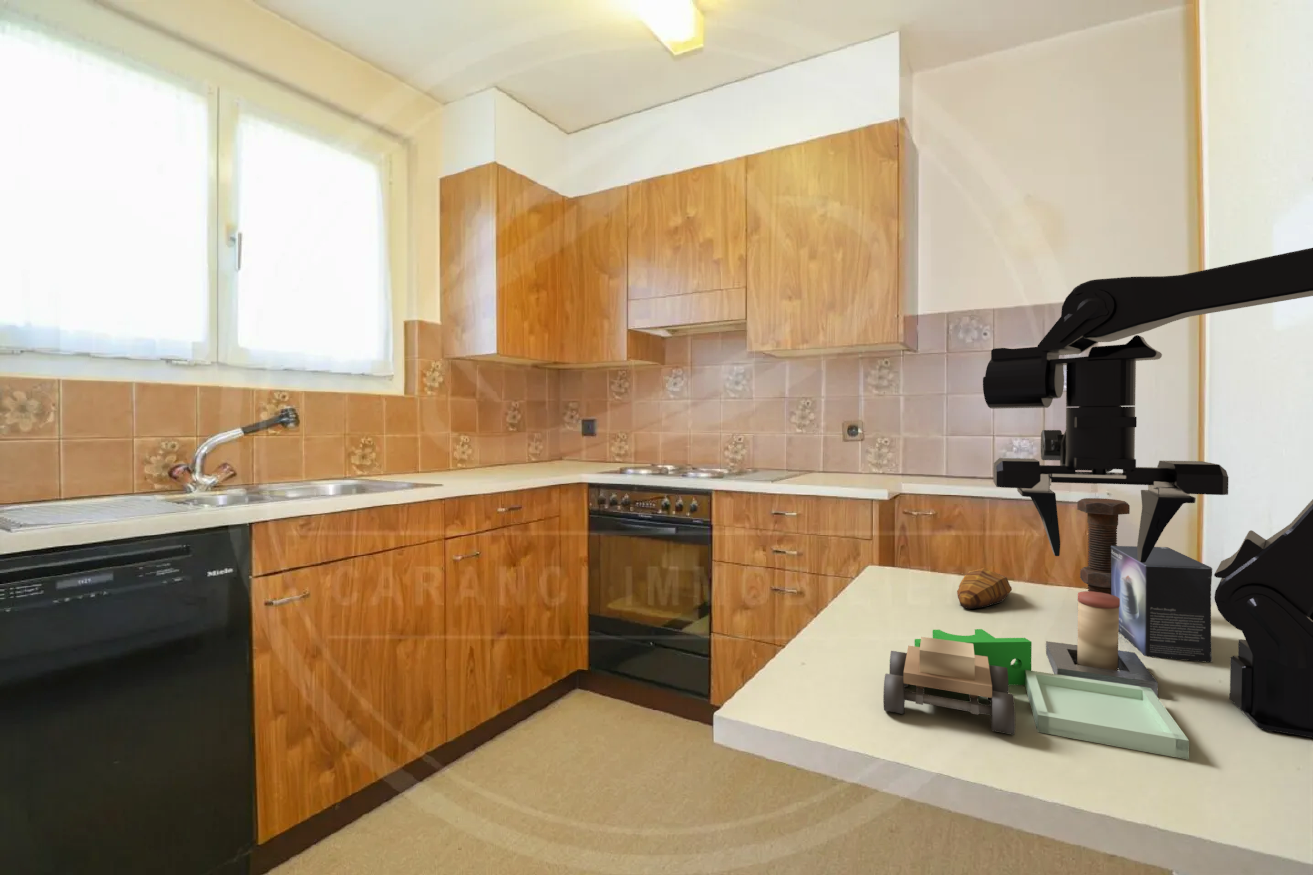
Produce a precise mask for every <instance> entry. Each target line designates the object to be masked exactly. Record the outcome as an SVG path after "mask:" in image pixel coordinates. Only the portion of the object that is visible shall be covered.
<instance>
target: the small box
mask: <svg viewBox="0 0 1313 875" xmlns="http://www.w3.org/2000/svg"><path fill="white" fill-rule="evenodd" d="M1212 577H1213V568H1212V567H1211V566H1209V565H1207V564H1205V563H1202V562H1201V561H1198V560H1196V559H1194V558H1191V557H1190V556H1187V555H1186V554H1184V553H1181V552H1179V551H1176V550H1174V549H1172V548H1170V547H1167V546H1154V548H1153V550H1152V551H1151V553H1150V555H1149V557H1148V559H1147V560H1146V562H1145V563H1141V562H1139V561H1138V552H1137V546H1134V545H1117V546H1111V595H1114V596H1116V597H1118V598H1119V599H1120V607H1119V634H1120V635H1122V636H1123V637H1124V638H1125V639H1126V640H1127V641H1128V642H1129V643H1130V644H1131V645H1132V646H1134V648H1136V649H1137V650H1138V651H1139V652H1140V653H1141V654H1142V655H1143V656H1144V657H1149V658H1161V659H1169V660H1170V659H1171V660H1181V661H1193V662H1204V663H1212V662H1213V655H1212V654H1213V653H1212V652H1213V648H1212Z"/></svg>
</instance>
